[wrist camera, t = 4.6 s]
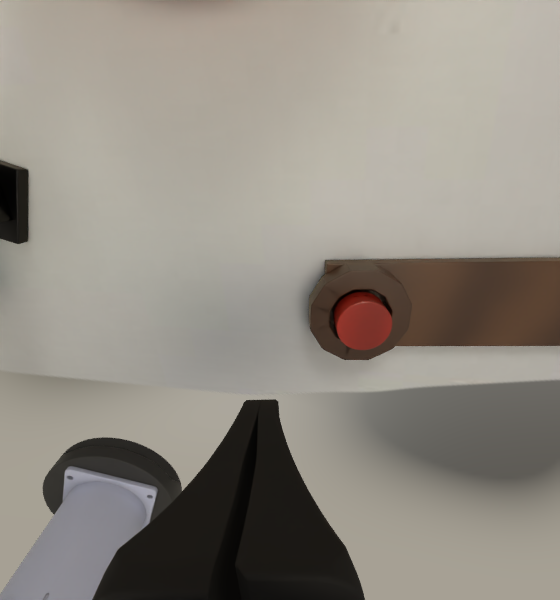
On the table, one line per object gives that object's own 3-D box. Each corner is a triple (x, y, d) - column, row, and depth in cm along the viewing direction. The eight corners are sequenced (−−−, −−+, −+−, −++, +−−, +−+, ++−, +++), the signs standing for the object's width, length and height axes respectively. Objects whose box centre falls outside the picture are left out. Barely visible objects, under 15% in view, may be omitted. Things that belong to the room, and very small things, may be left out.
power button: (331, 337, 20) (335, 350, 19) (334, 291, 19) (338, 301, 17) (382, 337, 20) (389, 350, 18) (387, 291, 19) (395, 301, 17)
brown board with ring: (307, 340, 23) (309, 360, 20) (308, 259, 20) (311, 270, 18) (577, 340, 22) (611, 360, 20) (612, 255, 20) (655, 267, 17)
